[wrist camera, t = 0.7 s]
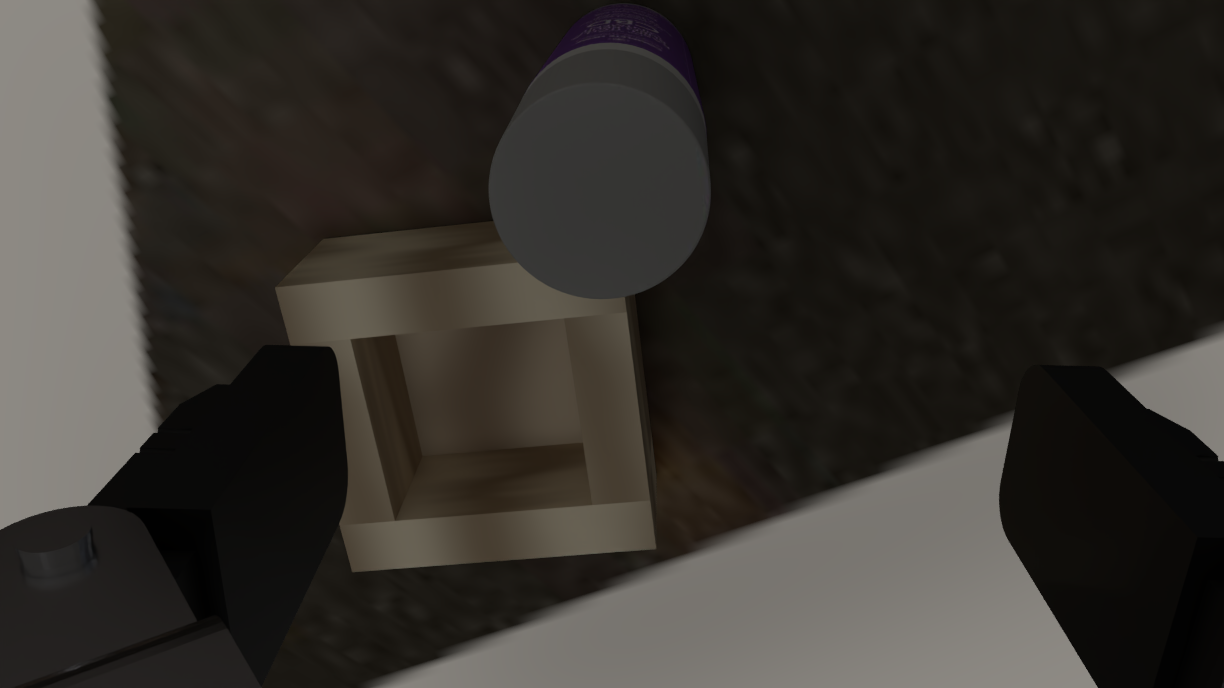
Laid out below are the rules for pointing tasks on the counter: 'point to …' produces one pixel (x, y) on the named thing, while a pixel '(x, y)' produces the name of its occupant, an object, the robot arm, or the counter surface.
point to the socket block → (476, 401)
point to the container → (606, 159)
